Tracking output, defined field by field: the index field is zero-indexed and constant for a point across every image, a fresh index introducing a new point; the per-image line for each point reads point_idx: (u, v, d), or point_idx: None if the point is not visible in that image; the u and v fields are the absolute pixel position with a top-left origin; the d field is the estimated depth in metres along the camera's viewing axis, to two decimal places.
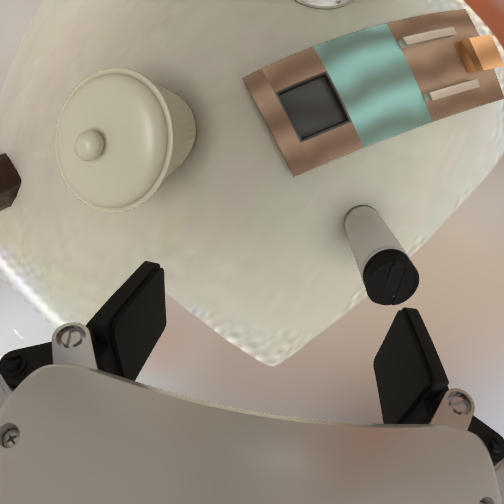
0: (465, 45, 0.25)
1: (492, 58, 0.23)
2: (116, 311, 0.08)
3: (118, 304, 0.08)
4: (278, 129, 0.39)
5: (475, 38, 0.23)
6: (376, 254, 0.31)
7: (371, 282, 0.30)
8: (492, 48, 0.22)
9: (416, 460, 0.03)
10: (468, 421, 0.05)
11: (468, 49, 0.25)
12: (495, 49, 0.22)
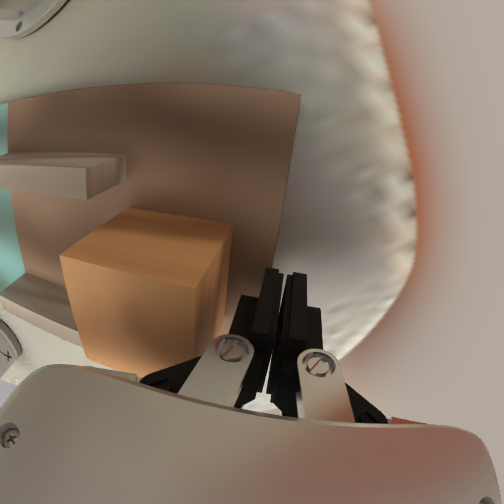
0: None
1: (144, 357, 0.10)
2: (271, 318, 0.09)
3: (268, 311, 0.09)
4: None
5: (86, 268, 0.08)
6: None
7: None
8: (162, 335, 0.09)
9: (416, 460, 0.03)
10: (340, 377, 0.07)
11: None
12: (181, 344, 0.09)
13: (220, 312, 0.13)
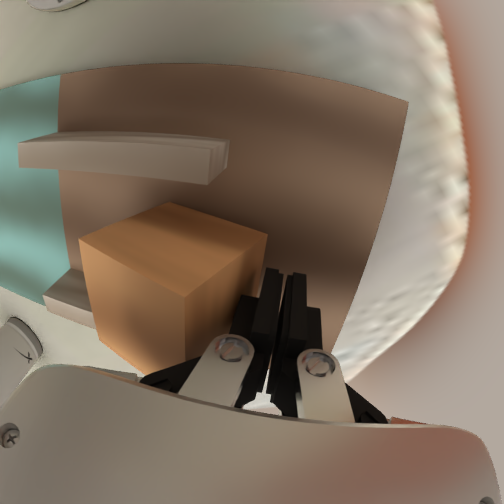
0: None
1: (144, 353, 0.10)
2: (271, 318, 0.09)
3: (268, 311, 0.09)
4: None
5: (97, 256, 0.09)
6: None
7: None
8: (157, 336, 0.09)
9: (416, 460, 0.03)
10: (340, 377, 0.07)
11: None
12: (173, 350, 0.09)
13: None
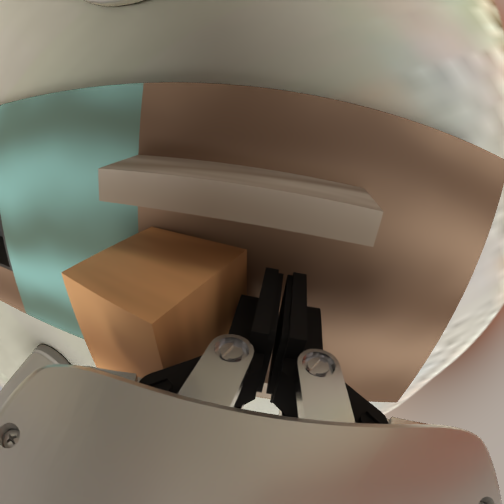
0: None
1: None
2: (271, 318, 0.09)
3: (268, 311, 0.09)
4: None
5: (78, 288, 0.09)
6: None
7: None
8: (140, 363, 0.09)
9: (416, 460, 0.03)
10: (340, 377, 0.07)
11: None
12: None
13: None
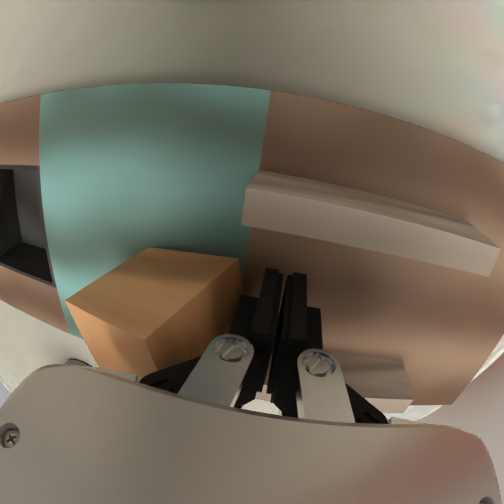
0: None
1: None
2: (271, 318, 0.09)
3: (268, 311, 0.09)
4: None
5: (80, 313, 0.09)
6: None
7: None
8: None
9: (416, 460, 0.03)
10: (340, 377, 0.07)
11: None
12: None
13: None
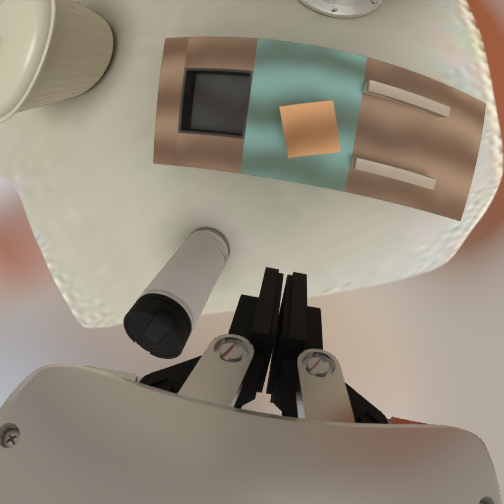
0: None
1: (318, 139, 0.26)
2: (271, 318, 0.09)
3: (268, 311, 0.09)
4: (165, 107, 0.31)
5: (293, 107, 0.25)
6: (152, 294, 0.26)
7: (130, 319, 0.25)
8: (325, 123, 0.25)
9: (416, 460, 0.03)
10: (340, 377, 0.07)
11: None
12: (331, 124, 0.25)
13: None
